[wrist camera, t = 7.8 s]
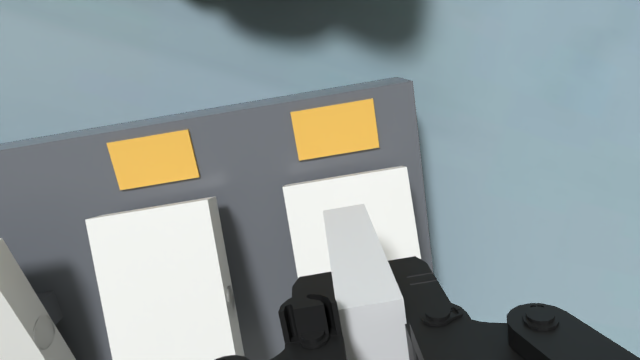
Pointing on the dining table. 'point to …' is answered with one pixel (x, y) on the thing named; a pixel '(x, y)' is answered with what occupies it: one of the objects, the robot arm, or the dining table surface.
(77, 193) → the switch unit
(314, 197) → the white rectangular block
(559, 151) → the dining table surface
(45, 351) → the rocker
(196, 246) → the rocker
